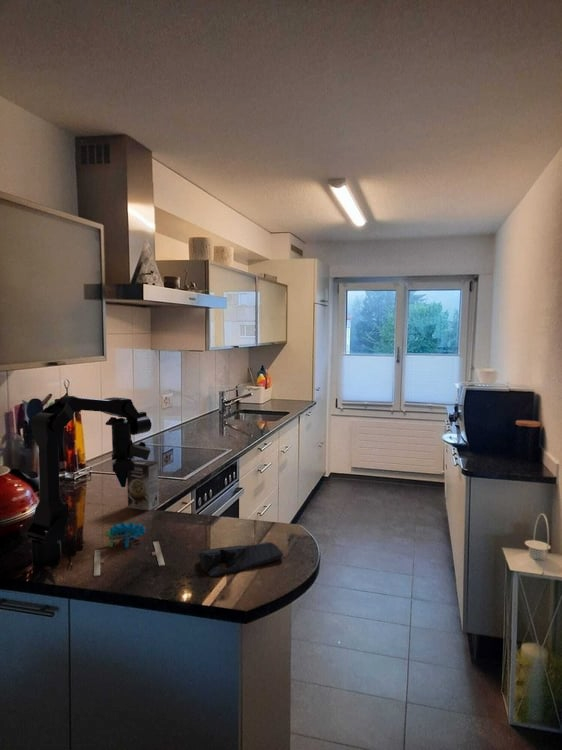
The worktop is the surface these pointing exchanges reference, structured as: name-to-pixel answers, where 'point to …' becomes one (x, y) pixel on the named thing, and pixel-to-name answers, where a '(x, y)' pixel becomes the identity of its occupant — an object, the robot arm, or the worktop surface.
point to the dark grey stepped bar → (238, 558)
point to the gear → (125, 532)
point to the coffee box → (143, 485)
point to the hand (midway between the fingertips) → (123, 486)
